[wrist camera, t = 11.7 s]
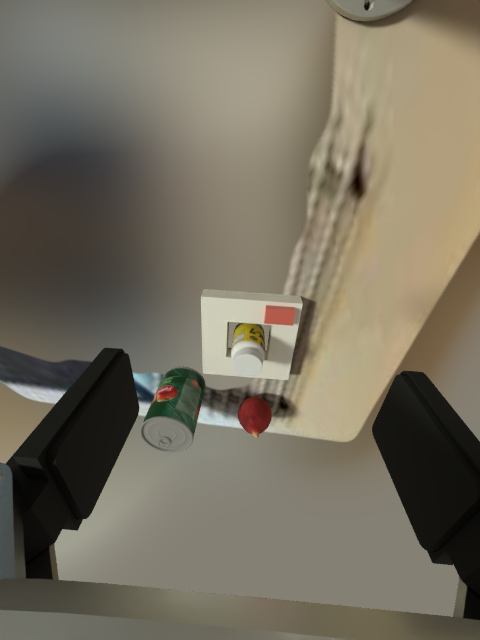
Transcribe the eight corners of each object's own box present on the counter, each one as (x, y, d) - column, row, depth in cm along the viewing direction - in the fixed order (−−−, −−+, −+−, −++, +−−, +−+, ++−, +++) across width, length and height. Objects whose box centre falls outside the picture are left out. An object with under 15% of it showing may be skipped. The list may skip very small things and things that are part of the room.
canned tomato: (167, 360, 46) (143, 411, 36) (210, 373, 47) (198, 426, 37) (159, 391, 50) (136, 444, 40) (199, 403, 51) (186, 457, 41)
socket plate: (204, 289, 39) (199, 299, 36) (300, 295, 38) (303, 307, 35) (205, 363, 46) (201, 377, 43) (286, 369, 45) (288, 384, 42)
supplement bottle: (270, 334, 42) (273, 369, 35) (247, 349, 44) (245, 385, 36) (250, 313, 40) (249, 346, 33) (228, 330, 42) (221, 364, 35)
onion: (236, 405, 51) (233, 443, 44) (243, 384, 48) (241, 421, 41) (265, 411, 51) (267, 450, 44) (274, 390, 48) (277, 428, 41)
